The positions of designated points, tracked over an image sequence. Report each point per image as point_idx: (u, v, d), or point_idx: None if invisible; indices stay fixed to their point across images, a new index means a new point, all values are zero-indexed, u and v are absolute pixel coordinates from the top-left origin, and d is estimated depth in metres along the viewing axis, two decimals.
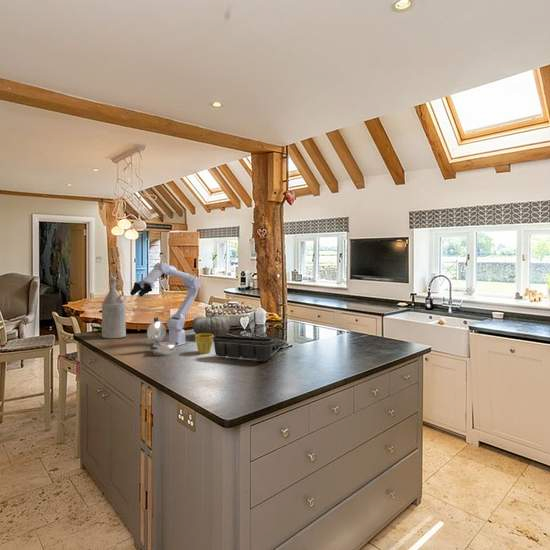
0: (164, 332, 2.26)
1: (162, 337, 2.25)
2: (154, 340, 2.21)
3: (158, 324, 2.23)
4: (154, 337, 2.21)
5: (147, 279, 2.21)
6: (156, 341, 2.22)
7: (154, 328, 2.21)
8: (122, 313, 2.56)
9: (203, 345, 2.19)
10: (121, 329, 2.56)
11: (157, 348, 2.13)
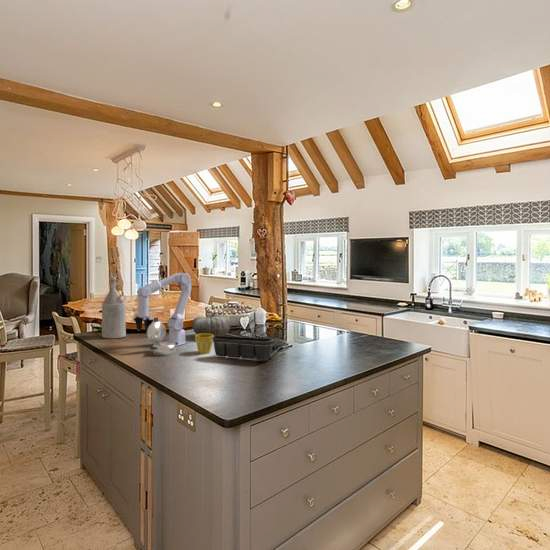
0: (164, 332, 2.26)
1: (162, 337, 2.25)
2: (154, 340, 2.21)
3: (158, 324, 2.23)
4: (154, 337, 2.21)
5: (142, 313, 2.25)
6: (156, 341, 2.22)
7: (154, 328, 2.21)
8: (122, 313, 2.56)
9: (203, 345, 2.19)
10: (121, 329, 2.56)
11: (157, 348, 2.13)
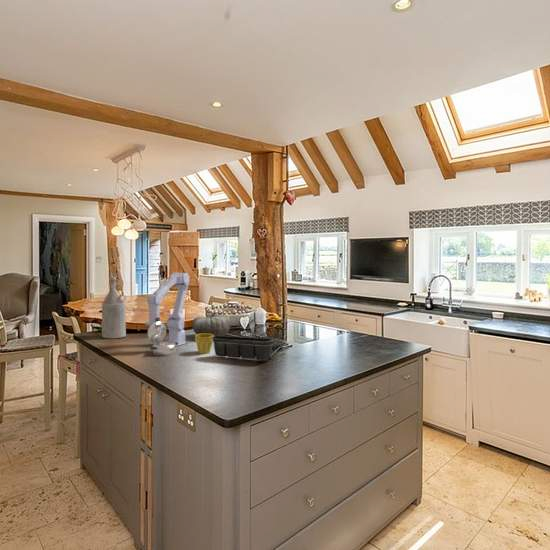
0: (164, 332, 2.26)
1: (162, 337, 2.25)
2: (154, 340, 2.21)
3: None
4: (154, 337, 2.21)
5: (152, 321, 2.21)
6: (156, 341, 2.22)
7: (155, 328, 2.21)
8: (122, 313, 2.56)
9: (203, 345, 2.19)
10: (121, 329, 2.56)
11: (157, 348, 2.13)
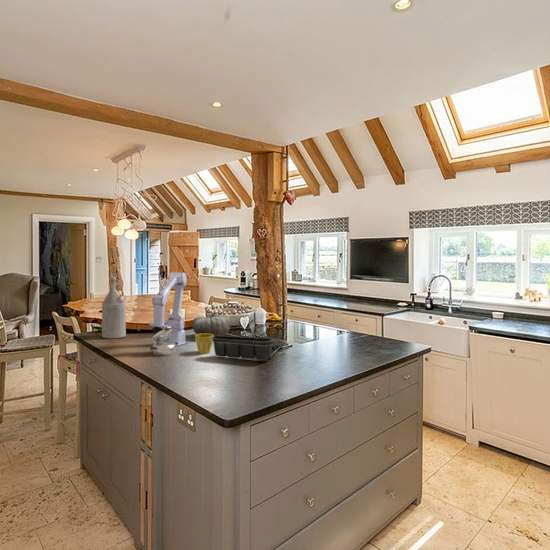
0: (168, 336, 2.24)
1: (164, 339, 2.24)
2: (155, 341, 2.20)
3: (167, 332, 2.19)
4: (157, 339, 2.20)
5: (157, 323, 2.19)
6: (157, 342, 2.22)
7: (161, 334, 2.17)
8: (122, 313, 2.56)
9: (203, 345, 2.19)
10: (121, 329, 2.56)
11: (157, 348, 2.13)
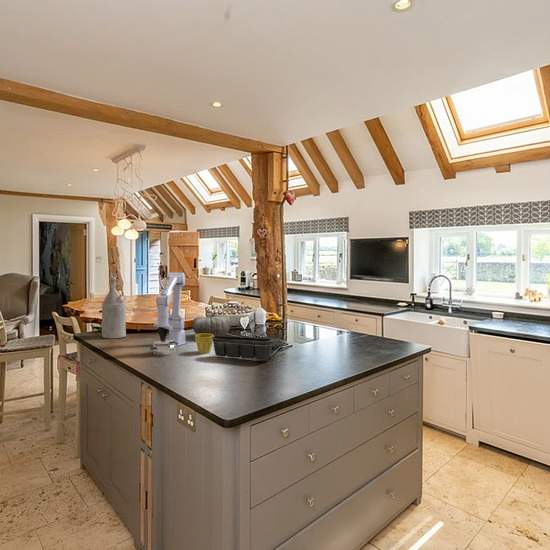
0: None
1: None
2: None
3: None
4: None
5: (161, 323, 2.16)
6: None
7: None
8: (122, 313, 2.56)
9: (203, 345, 2.19)
10: (121, 329, 2.56)
11: (157, 348, 2.13)
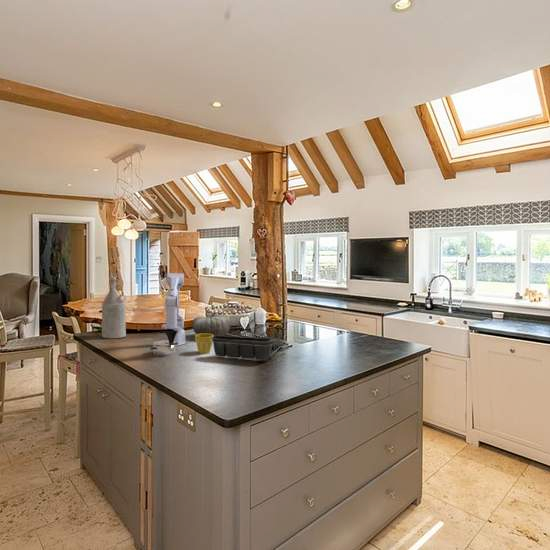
0: None
1: None
2: None
3: None
4: None
5: (170, 325, 2.12)
6: None
7: None
8: (122, 313, 2.56)
9: (203, 345, 2.19)
10: (121, 329, 2.56)
11: (157, 348, 2.13)
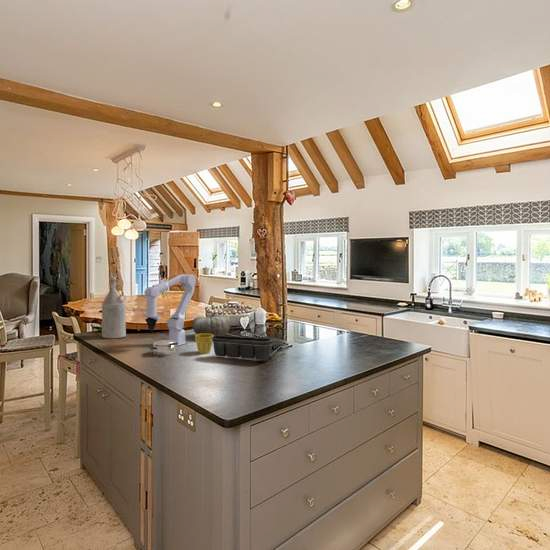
0: None
1: None
2: None
3: None
4: None
5: (150, 313, 2.26)
6: None
7: None
8: (122, 313, 2.56)
9: (203, 345, 2.19)
10: (121, 329, 2.56)
11: (157, 348, 2.13)
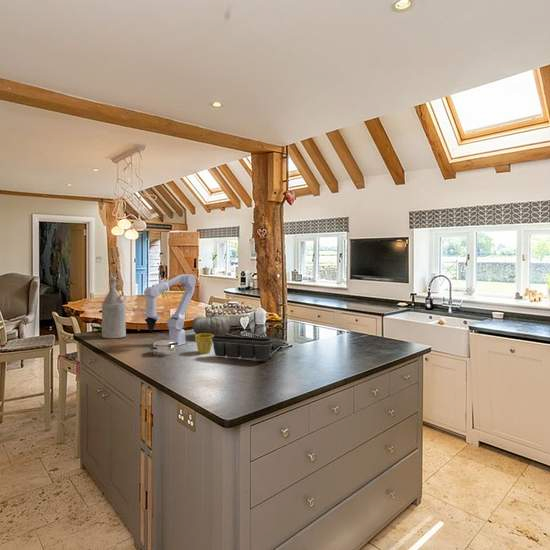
0: None
1: None
2: None
3: None
4: None
5: (149, 313, 2.26)
6: None
7: None
8: (122, 313, 2.56)
9: (203, 345, 2.19)
10: (121, 329, 2.56)
11: (157, 348, 2.13)
